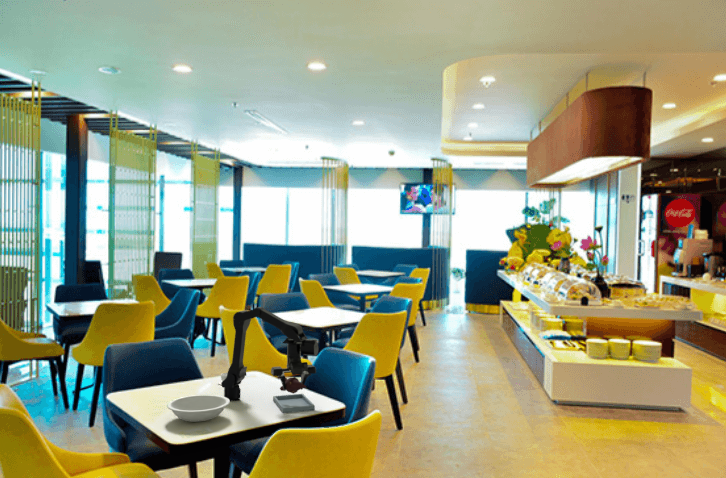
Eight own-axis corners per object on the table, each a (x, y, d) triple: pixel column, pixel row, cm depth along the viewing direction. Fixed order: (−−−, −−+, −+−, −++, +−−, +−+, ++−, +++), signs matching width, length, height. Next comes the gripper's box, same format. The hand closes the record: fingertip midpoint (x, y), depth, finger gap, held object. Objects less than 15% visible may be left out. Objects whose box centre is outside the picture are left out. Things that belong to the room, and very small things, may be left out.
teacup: (220, 387, 276) (220, 377, 276) (216, 382, 285) (216, 373, 285) (241, 385, 281) (241, 375, 281) (235, 380, 290) (236, 371, 290)
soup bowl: (214, 406, 243) (214, 391, 243) (240, 421, 224) (240, 404, 224) (157, 417, 228) (158, 400, 228) (180, 433, 209) (180, 415, 209)
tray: (282, 413, 235) (282, 408, 235) (273, 400, 253) (273, 396, 253) (314, 410, 240) (314, 405, 240) (302, 398, 258) (302, 393, 258)
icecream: (312, 378, 246) (287, 376, 255) (301, 377, 240) (275, 375, 249) (310, 395, 244) (285, 392, 253) (299, 394, 239) (273, 391, 248)
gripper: (276, 358, 236) (275, 396, 236) (320, 356, 242) (319, 393, 242) (271, 353, 246) (270, 389, 246) (312, 351, 253) (312, 386, 253)
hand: (293, 390), depth 247 cm, fingers closed on icecream, 7 cm apart
